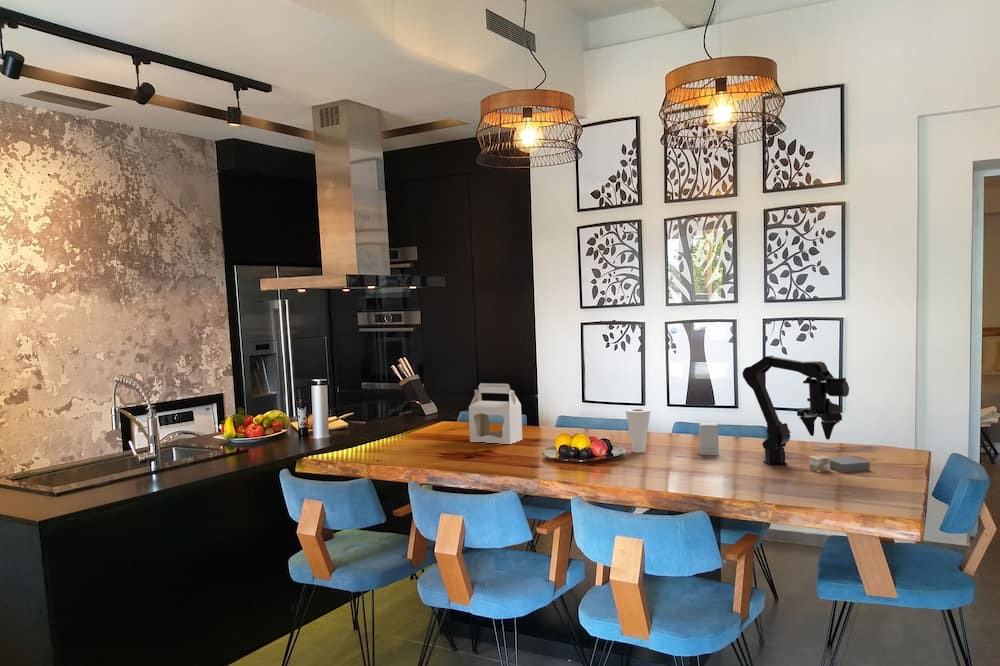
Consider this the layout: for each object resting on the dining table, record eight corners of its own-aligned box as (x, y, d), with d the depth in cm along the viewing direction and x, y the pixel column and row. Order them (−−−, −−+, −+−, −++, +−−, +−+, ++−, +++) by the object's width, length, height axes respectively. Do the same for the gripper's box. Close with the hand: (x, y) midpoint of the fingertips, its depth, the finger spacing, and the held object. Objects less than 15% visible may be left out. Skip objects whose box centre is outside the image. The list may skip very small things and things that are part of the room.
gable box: (469, 442, 338) (467, 384, 337) (482, 437, 350) (480, 381, 349) (510, 445, 328) (508, 385, 327) (522, 440, 340) (521, 382, 339)
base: (842, 472, 256) (842, 464, 256) (823, 465, 267) (823, 458, 267) (869, 470, 258) (869, 462, 258) (849, 463, 269) (849, 456, 269)
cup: (652, 454, 298) (651, 412, 298) (626, 454, 300) (625, 412, 299) (650, 449, 309) (649, 408, 308) (626, 449, 310) (625, 408, 310)
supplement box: (719, 455, 292) (718, 425, 291) (700, 455, 293) (699, 425, 293) (717, 451, 299) (716, 422, 298) (699, 451, 300) (698, 422, 300)
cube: (817, 472, 258) (817, 459, 258) (809, 469, 263) (809, 456, 263) (830, 471, 259) (829, 458, 259) (821, 468, 264) (821, 455, 264)
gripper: (854, 396, 253) (856, 439, 253) (821, 391, 271) (823, 432, 271) (826, 398, 251) (828, 442, 251) (795, 394, 269) (797, 434, 269)
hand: (819, 437), depth 261 cm, fingers open, 9 cm apart
